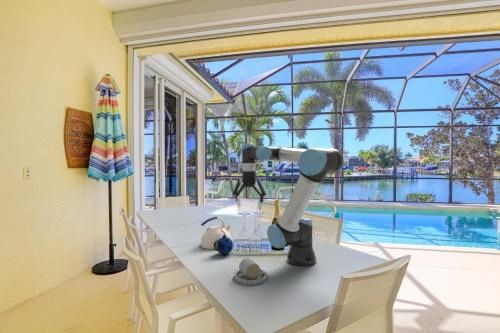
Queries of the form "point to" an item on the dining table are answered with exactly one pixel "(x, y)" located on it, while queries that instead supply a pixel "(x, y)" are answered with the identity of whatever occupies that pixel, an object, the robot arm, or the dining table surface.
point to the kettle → (214, 233)
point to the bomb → (223, 244)
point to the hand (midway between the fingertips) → (249, 207)
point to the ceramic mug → (250, 268)
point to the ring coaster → (244, 280)
